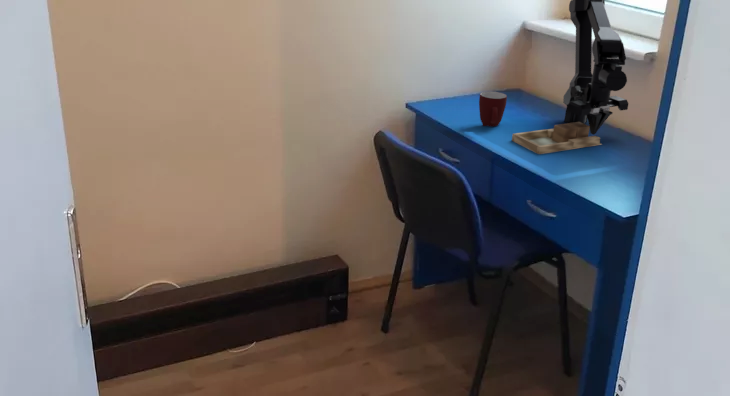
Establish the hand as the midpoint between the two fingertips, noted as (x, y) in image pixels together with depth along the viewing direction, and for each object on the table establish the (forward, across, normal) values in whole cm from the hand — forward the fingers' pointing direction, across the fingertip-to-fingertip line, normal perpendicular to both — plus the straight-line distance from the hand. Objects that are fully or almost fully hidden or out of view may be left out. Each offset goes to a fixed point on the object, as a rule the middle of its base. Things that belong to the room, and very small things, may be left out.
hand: (592, 133), depth 216 cm
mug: (+2, +22, -20) cm, 30 cm away
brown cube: (+1, +6, 0) cm, 6 cm away
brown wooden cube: (+1, +11, 0) cm, 11 cm away
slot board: (+2, +13, 0) cm, 13 cm away
